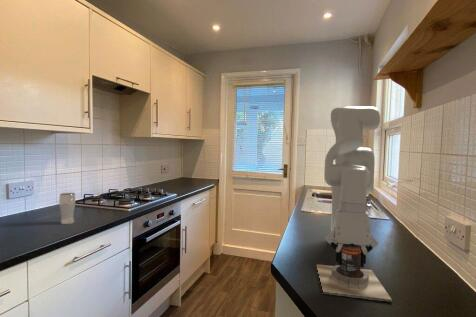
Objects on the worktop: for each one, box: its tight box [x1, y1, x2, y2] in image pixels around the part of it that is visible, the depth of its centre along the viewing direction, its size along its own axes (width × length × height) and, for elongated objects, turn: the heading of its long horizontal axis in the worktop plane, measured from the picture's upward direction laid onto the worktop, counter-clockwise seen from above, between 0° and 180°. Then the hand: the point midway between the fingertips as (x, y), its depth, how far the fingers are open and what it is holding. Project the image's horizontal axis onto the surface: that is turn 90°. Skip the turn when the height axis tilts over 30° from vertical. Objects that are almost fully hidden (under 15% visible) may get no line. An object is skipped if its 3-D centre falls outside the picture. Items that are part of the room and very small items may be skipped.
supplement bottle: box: [340, 243, 362, 278], centre depth 83 cm, size 6×6×11 cm
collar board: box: [316, 264, 393, 302], centre depth 84 cm, size 18×18×4 cm
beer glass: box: [58, 192, 76, 225], centre depth 138 cm, size 7×7×15 cm
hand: (349, 264), depth 84 cm, fingers closed on supplement bottle, 5 cm apart
